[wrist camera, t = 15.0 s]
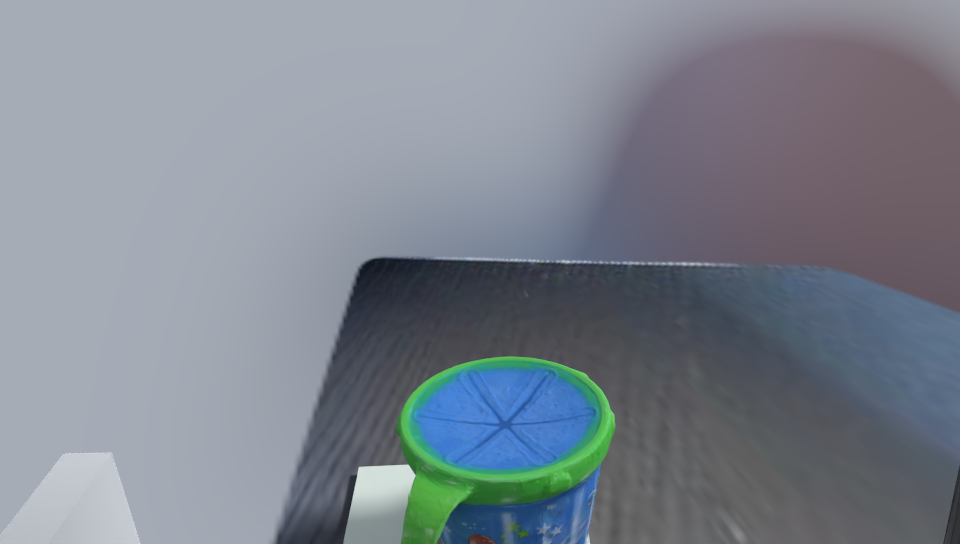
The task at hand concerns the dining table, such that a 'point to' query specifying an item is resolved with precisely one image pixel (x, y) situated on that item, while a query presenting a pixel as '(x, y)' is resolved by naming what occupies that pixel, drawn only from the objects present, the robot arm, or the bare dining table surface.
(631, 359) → the dining table surface
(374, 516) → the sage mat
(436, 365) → the dining table surface
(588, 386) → the snack cup
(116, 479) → the robot arm
